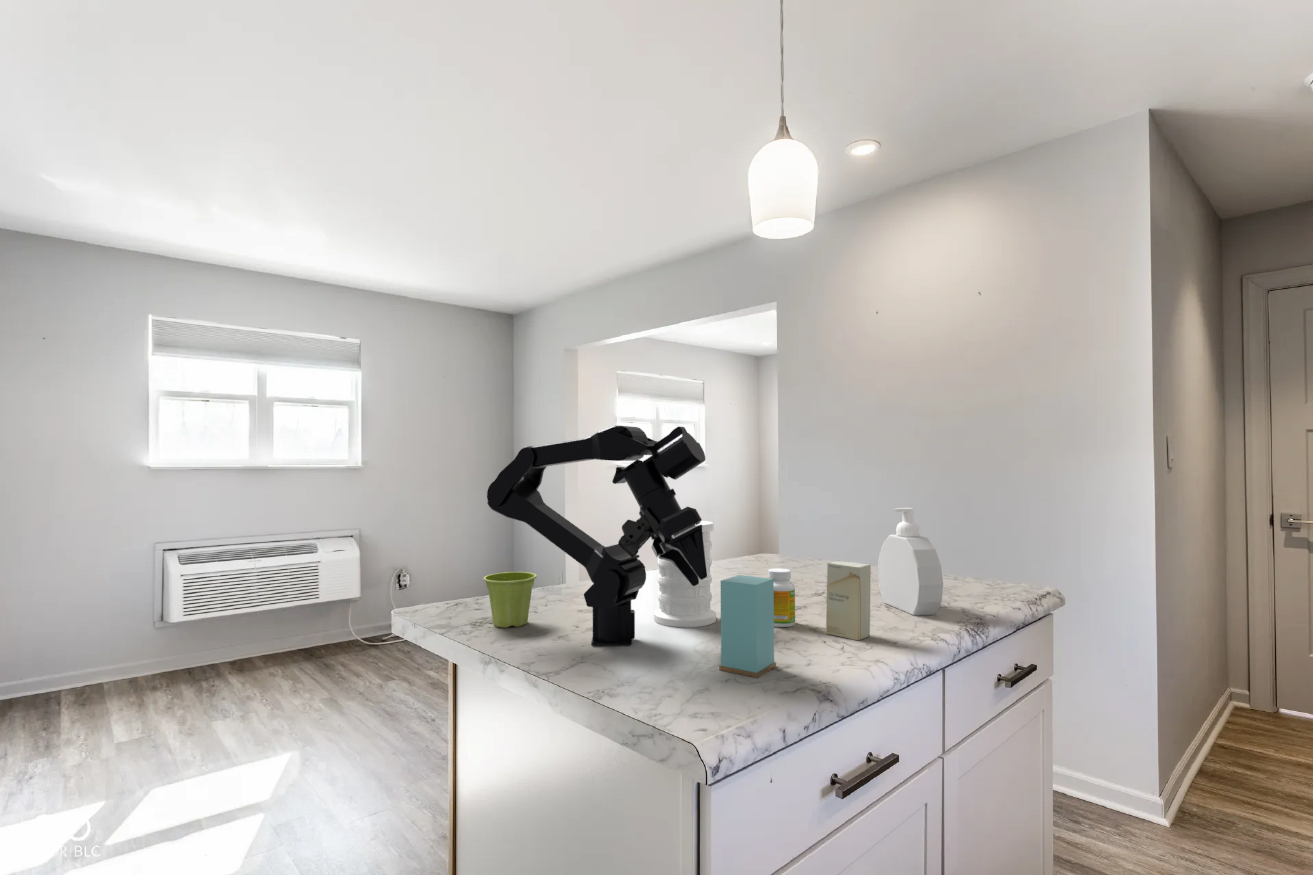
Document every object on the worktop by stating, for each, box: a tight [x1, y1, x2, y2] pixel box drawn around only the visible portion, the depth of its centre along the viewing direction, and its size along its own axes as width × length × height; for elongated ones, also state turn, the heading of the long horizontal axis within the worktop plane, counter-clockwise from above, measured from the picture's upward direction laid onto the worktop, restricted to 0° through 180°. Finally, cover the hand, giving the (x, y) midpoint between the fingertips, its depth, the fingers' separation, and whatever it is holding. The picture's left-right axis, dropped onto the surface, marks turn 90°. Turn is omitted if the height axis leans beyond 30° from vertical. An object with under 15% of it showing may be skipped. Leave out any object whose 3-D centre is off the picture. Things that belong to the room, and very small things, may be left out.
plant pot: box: [483, 571, 538, 629], centre depth 121 cm, size 9×9×9 cm
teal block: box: [720, 574, 775, 673], centre depth 96 cm, size 6×6×12 cm
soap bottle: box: [877, 507, 944, 616], centre depth 133 cm, size 16×5×20 cm, turn 10°
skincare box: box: [825, 560, 872, 641], centre depth 113 cm, size 6×4×12 cm
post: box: [718, 661, 777, 678], centre depth 96 cm, size 6×6×4 cm
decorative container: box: [653, 520, 717, 628], centre depth 125 cm, size 12×12×18 cm
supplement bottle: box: [767, 567, 796, 628], centre depth 121 cm, size 5×5×10 cm
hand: (699, 581), depth 103 cm, fingers open, 9 cm apart
